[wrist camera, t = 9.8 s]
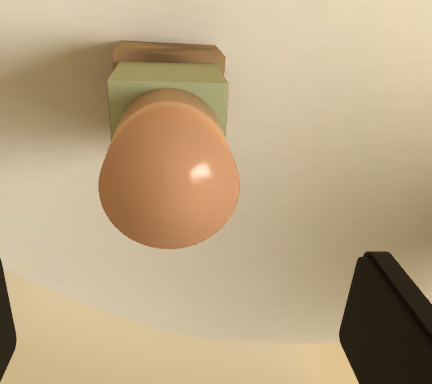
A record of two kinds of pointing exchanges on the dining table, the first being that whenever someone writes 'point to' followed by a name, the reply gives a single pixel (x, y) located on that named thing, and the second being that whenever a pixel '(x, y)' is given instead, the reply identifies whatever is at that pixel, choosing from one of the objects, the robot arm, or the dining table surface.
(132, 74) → the sage cube
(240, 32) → the dining table surface
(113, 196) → the tan rounded knob
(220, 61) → the walnut base block
